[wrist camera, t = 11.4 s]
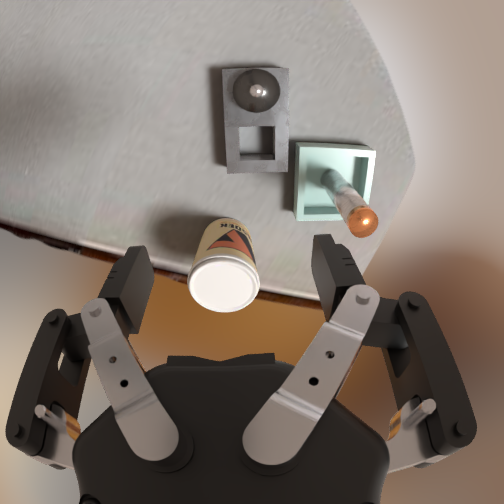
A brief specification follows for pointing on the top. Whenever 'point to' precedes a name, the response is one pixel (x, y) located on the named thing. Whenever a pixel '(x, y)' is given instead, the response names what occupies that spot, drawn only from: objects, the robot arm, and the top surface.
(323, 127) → the top surface
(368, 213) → the pin
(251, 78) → the block
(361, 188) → the tray
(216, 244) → the coffee cup
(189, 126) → the top surface
